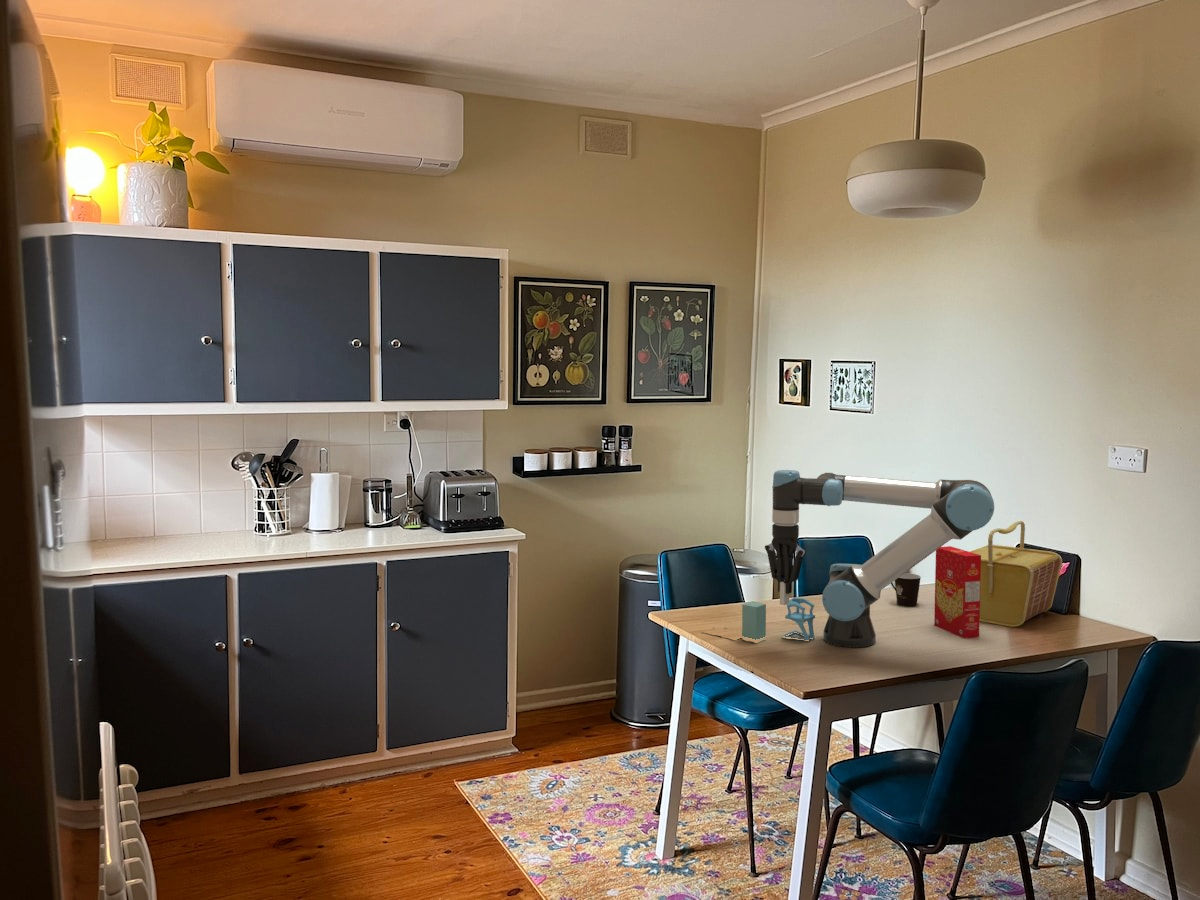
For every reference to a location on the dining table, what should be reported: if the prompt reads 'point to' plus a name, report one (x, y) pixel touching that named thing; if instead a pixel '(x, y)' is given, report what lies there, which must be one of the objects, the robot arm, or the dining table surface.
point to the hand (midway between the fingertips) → (784, 603)
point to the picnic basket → (1016, 580)
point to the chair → (801, 618)
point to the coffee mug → (907, 589)
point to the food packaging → (957, 591)
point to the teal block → (754, 620)
